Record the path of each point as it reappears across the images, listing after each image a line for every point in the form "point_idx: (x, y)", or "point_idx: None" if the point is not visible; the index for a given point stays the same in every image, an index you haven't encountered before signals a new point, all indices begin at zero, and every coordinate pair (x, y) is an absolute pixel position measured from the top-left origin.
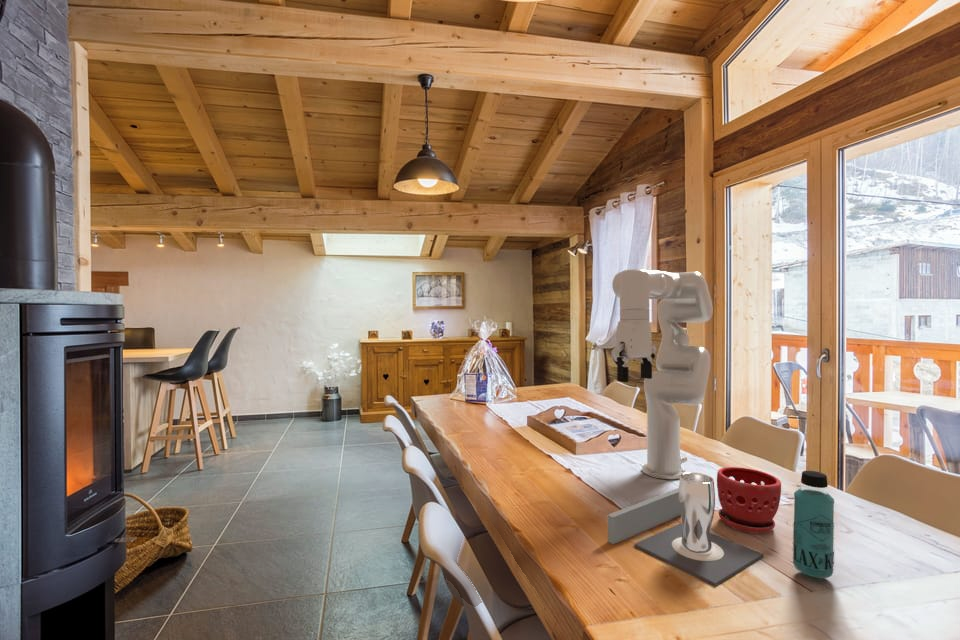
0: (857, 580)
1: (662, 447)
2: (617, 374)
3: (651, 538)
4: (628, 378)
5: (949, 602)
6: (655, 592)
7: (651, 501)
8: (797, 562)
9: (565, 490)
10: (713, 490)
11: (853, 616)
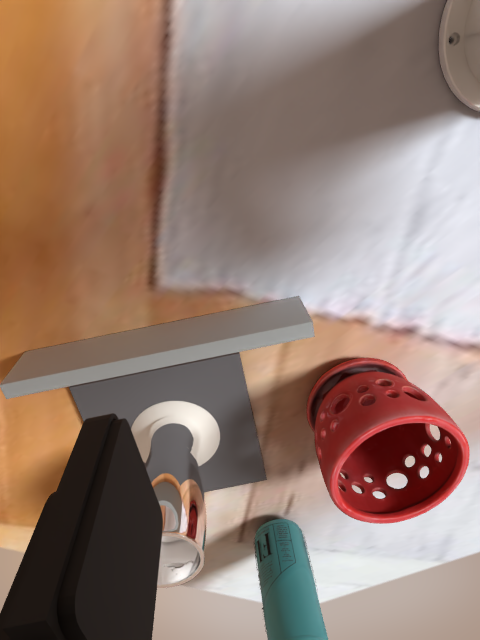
0: (321, 543)
1: None
2: (63, 481)
3: (118, 383)
4: (158, 552)
5: (361, 588)
6: (21, 490)
7: (157, 364)
8: (256, 541)
9: (56, 3)
10: (182, 565)
11: (232, 578)
